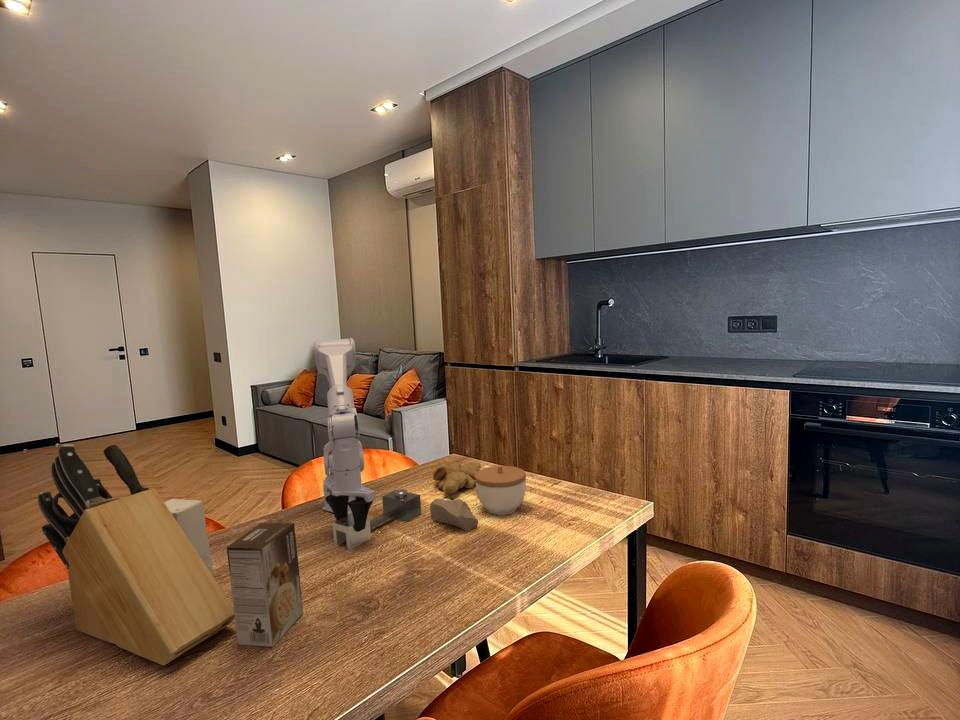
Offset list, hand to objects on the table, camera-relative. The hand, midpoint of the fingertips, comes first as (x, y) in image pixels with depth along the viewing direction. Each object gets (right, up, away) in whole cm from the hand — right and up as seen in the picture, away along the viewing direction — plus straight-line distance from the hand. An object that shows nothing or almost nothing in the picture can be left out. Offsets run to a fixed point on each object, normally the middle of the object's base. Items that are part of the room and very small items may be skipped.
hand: (351, 527), depth 113 cm
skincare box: (-29, -6, -14) cm, 33 cm away
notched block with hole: (0, -3, 0) cm, 3 cm away
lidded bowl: (+34, 0, +14) cm, 37 cm away
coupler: (+7, -2, +10) cm, 12 cm away
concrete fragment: (+22, -2, +8) cm, 23 cm away
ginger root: (+21, +1, +32) cm, 39 cm away
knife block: (-29, -8, -27) cm, 40 cm away
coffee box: (-5, -7, -30) cm, 31 cm away
